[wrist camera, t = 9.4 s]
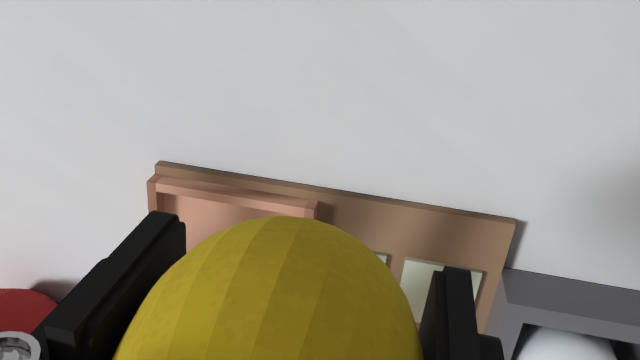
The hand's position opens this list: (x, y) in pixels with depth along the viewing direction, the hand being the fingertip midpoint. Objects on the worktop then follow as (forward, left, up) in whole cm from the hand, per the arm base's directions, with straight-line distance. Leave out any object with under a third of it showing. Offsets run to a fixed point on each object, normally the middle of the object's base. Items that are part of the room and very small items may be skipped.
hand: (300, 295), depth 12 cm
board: (+1, +10, -15) cm, 19 cm away
